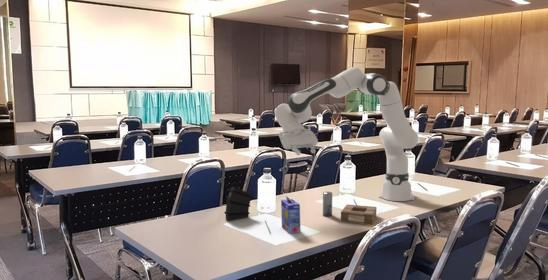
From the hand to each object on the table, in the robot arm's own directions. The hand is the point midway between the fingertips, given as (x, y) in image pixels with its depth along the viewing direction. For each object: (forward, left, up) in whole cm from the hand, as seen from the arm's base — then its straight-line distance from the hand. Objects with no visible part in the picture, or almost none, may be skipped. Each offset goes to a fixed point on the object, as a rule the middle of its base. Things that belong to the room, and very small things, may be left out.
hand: (306, 153), depth 219 cm
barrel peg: (+4, +11, -29) cm, 31 cm away
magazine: (+21, -27, -29) cm, 44 cm away
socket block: (+5, +26, -29) cm, 39 cm away
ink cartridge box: (+30, +1, -29) cm, 42 cm away
